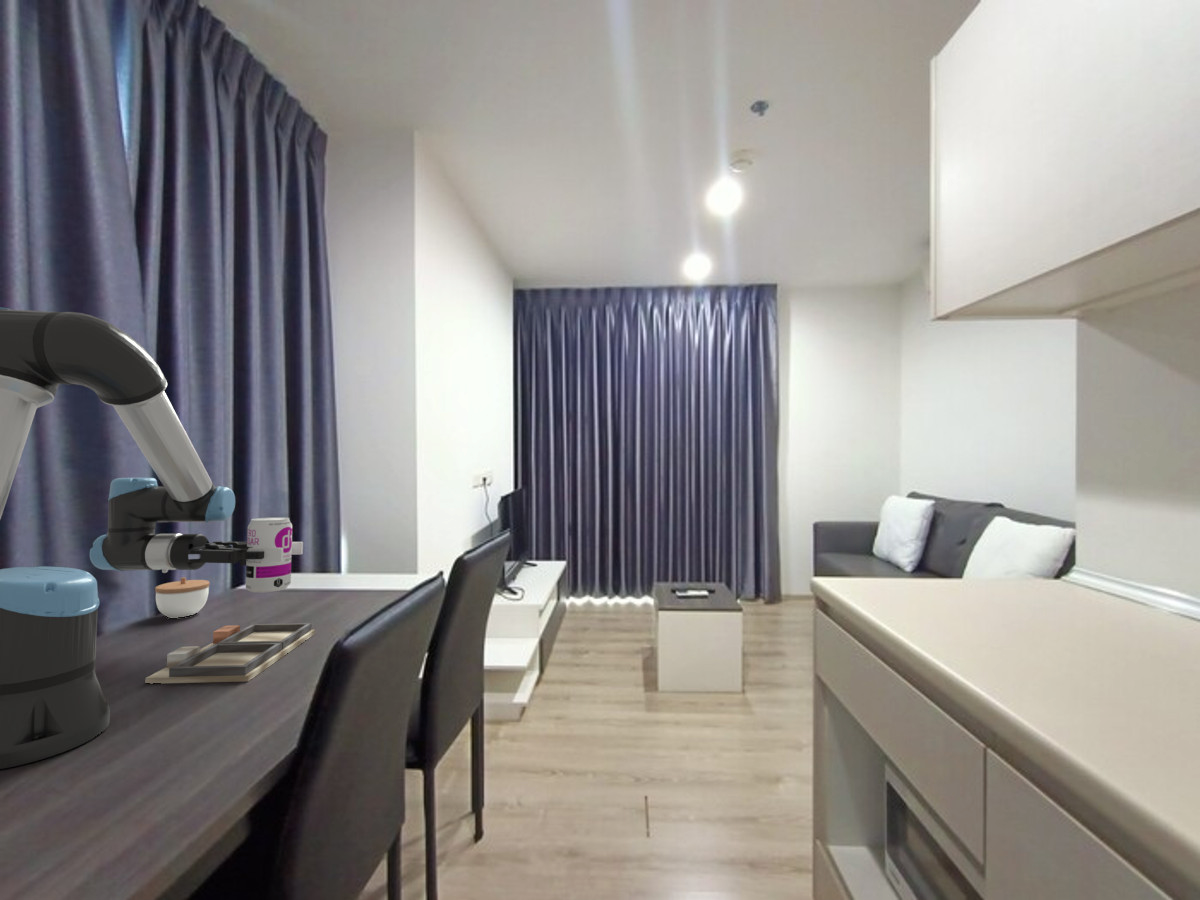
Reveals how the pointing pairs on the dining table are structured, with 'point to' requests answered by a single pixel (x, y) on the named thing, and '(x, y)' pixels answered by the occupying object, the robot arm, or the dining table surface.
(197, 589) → the lidded jar
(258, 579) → the supplement can
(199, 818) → the dining table surface
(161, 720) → the dining table surface
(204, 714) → the dining table surface
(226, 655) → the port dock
